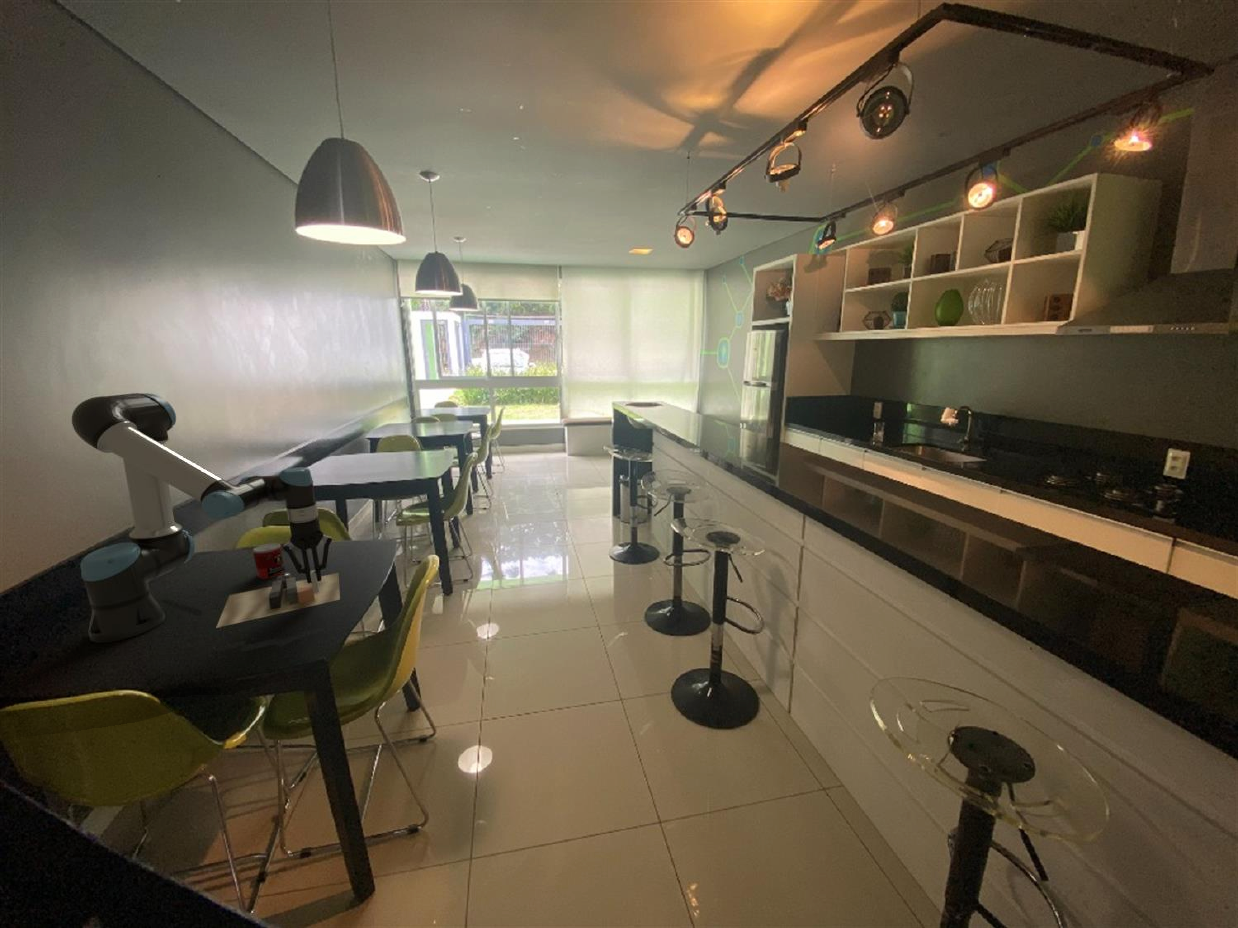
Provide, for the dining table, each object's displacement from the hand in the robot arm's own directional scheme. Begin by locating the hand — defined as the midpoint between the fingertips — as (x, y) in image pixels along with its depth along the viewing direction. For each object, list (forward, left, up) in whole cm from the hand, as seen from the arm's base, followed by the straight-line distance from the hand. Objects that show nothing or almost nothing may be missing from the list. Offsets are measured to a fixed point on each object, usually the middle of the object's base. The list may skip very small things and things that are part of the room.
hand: (316, 591), depth 151 cm
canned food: (-14, +28, -3) cm, 32 cm away
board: (-9, +5, -3) cm, 11 cm away
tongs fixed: (-10, +7, -2) cm, 12 cm away
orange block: (-3, 0, -2) cm, 3 cm away
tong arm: (-7, +5, -2) cm, 9 cm away
